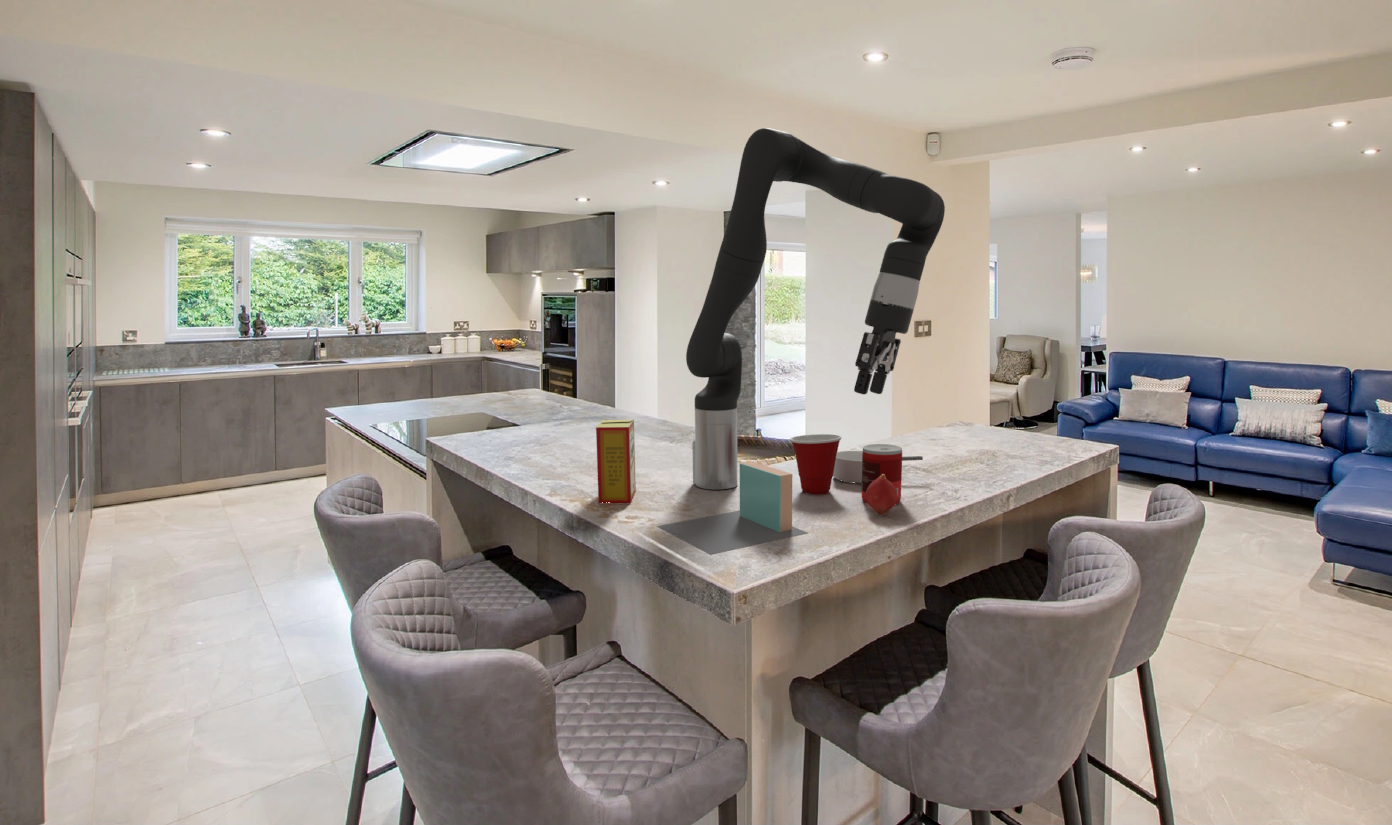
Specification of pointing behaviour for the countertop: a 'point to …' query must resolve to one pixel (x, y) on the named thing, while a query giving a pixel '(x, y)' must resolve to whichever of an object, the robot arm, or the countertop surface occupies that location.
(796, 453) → the plastic cup
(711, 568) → the countertop surface
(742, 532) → the mat
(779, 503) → the tile
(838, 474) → the saucepan
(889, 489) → the onion
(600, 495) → the baking soda box
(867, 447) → the canned food
